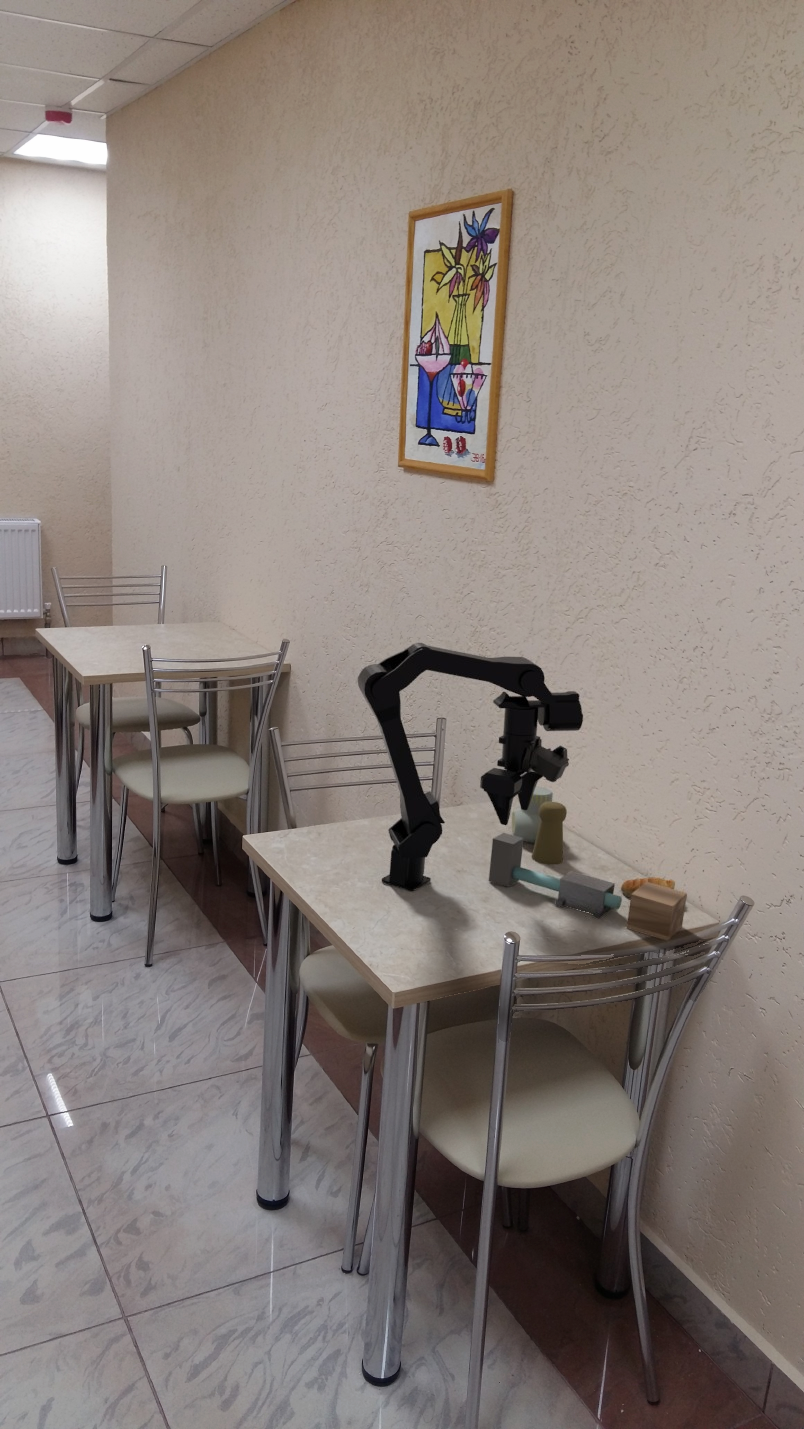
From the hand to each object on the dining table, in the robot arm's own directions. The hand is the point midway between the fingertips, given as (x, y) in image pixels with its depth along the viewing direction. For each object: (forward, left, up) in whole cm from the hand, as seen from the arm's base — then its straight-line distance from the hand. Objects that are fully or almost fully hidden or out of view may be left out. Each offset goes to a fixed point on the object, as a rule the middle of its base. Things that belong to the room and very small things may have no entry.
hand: (514, 817), depth 194 cm
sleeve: (-1, -15, -12) cm, 19 cm away
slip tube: (-1, -9, -12) cm, 15 cm away
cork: (+15, -1, -12) cm, 19 cm away
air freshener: (+23, +6, -12) cm, 27 cm away
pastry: (+11, -23, -12) cm, 28 cm away
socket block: (-1, -28, -12) cm, 30 cm away
